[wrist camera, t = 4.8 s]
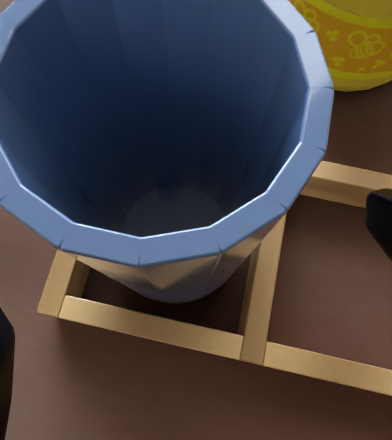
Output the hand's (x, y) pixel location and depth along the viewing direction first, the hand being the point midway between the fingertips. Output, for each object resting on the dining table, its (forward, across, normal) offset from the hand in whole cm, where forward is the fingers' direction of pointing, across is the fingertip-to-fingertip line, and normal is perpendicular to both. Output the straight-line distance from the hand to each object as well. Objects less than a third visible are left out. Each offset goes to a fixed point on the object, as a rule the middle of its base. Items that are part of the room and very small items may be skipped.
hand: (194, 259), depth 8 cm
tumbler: (+9, 0, +5) cm, 11 cm away
